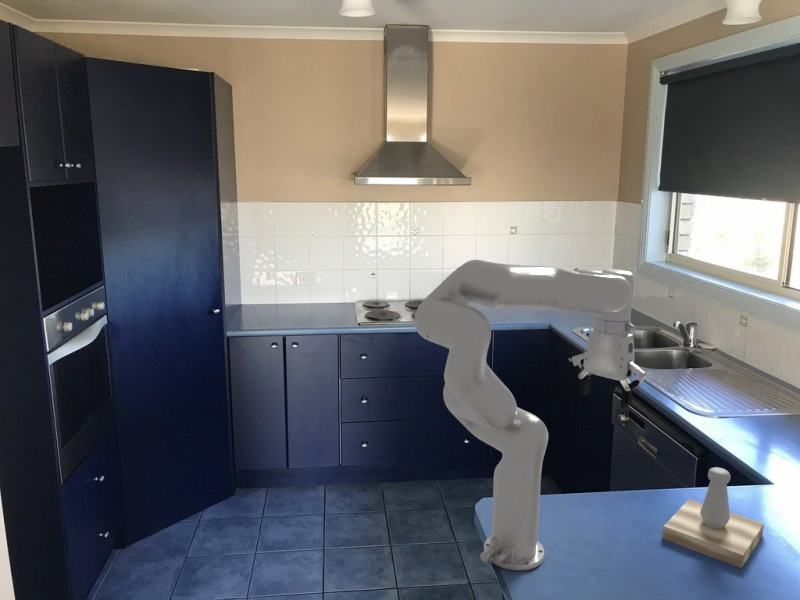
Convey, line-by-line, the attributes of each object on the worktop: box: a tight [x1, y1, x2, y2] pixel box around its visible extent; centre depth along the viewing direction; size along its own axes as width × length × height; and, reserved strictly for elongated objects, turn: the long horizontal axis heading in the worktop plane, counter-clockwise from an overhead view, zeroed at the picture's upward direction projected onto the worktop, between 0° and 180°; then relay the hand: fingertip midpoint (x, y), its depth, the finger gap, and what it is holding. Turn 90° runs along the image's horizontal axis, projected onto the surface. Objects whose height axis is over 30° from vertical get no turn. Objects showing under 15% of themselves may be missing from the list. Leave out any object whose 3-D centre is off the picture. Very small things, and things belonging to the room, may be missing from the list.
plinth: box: [662, 498, 765, 569], centre depth 143 cm, size 16×16×3 cm
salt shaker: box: [700, 466, 731, 530], centre depth 141 cm, size 6×6×13 cm
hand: (604, 400), depth 145 cm, fingers open, 9 cm apart
